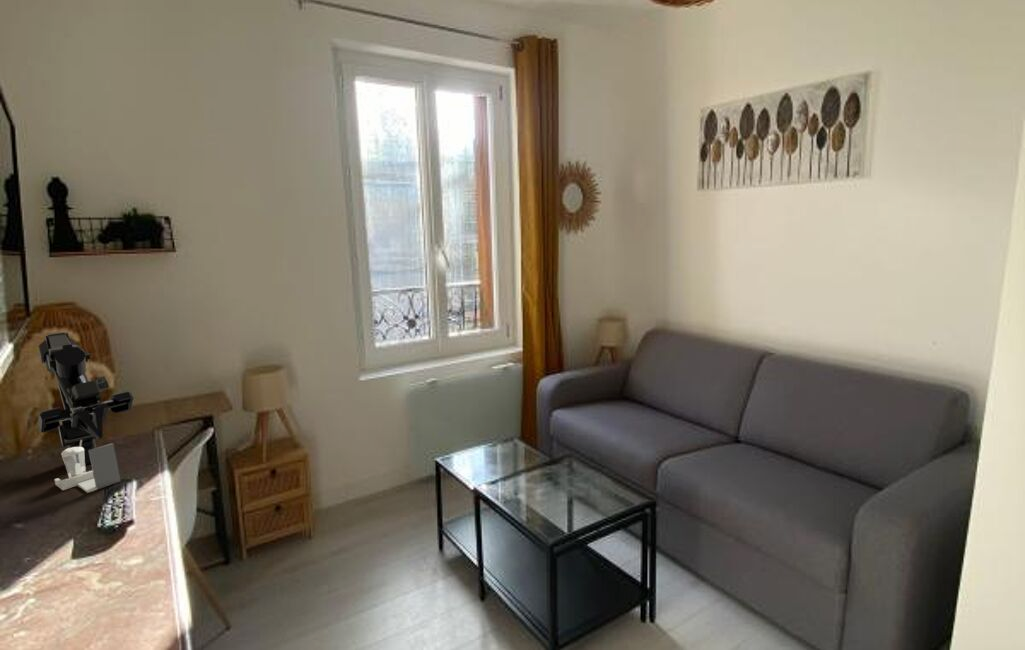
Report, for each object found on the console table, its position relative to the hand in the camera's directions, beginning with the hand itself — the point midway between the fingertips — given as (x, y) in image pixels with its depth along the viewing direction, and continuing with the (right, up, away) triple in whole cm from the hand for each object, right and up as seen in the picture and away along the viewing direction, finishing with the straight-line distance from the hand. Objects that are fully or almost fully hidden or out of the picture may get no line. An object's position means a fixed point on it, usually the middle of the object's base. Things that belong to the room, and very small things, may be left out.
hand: (100, 437), depth 135 cm
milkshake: (-10, -13, +7) cm, 17 cm away
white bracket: (-7, -12, +5) cm, 15 cm away
